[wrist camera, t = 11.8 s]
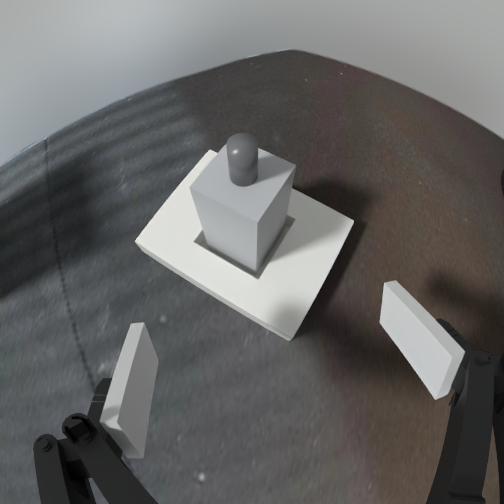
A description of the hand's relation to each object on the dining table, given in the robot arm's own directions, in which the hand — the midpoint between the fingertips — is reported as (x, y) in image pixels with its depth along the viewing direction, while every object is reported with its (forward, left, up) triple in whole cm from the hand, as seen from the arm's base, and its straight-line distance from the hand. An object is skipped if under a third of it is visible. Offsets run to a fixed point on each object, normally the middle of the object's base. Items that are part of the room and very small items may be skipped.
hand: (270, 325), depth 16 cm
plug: (+6, -7, -10) cm, 14 cm away
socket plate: (+6, -7, -10) cm, 14 cm away
